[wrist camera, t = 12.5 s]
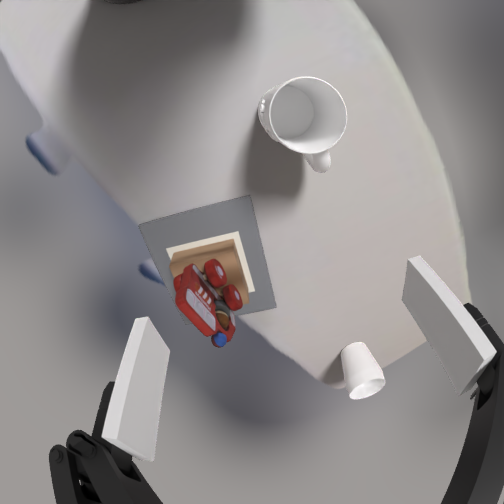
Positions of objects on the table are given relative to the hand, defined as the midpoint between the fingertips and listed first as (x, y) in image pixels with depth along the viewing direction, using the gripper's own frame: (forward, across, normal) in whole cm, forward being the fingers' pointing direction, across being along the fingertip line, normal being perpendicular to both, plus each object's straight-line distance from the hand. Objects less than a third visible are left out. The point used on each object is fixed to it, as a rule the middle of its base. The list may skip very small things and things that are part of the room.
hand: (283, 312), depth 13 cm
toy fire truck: (+24, -10, -15) cm, 30 cm away
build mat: (+29, -10, -15) cm, 34 cm away
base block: (+28, -10, -15) cm, 33 cm away
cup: (+29, +15, -47) cm, 57 cm away
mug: (+29, +7, +5) cm, 30 cm away
